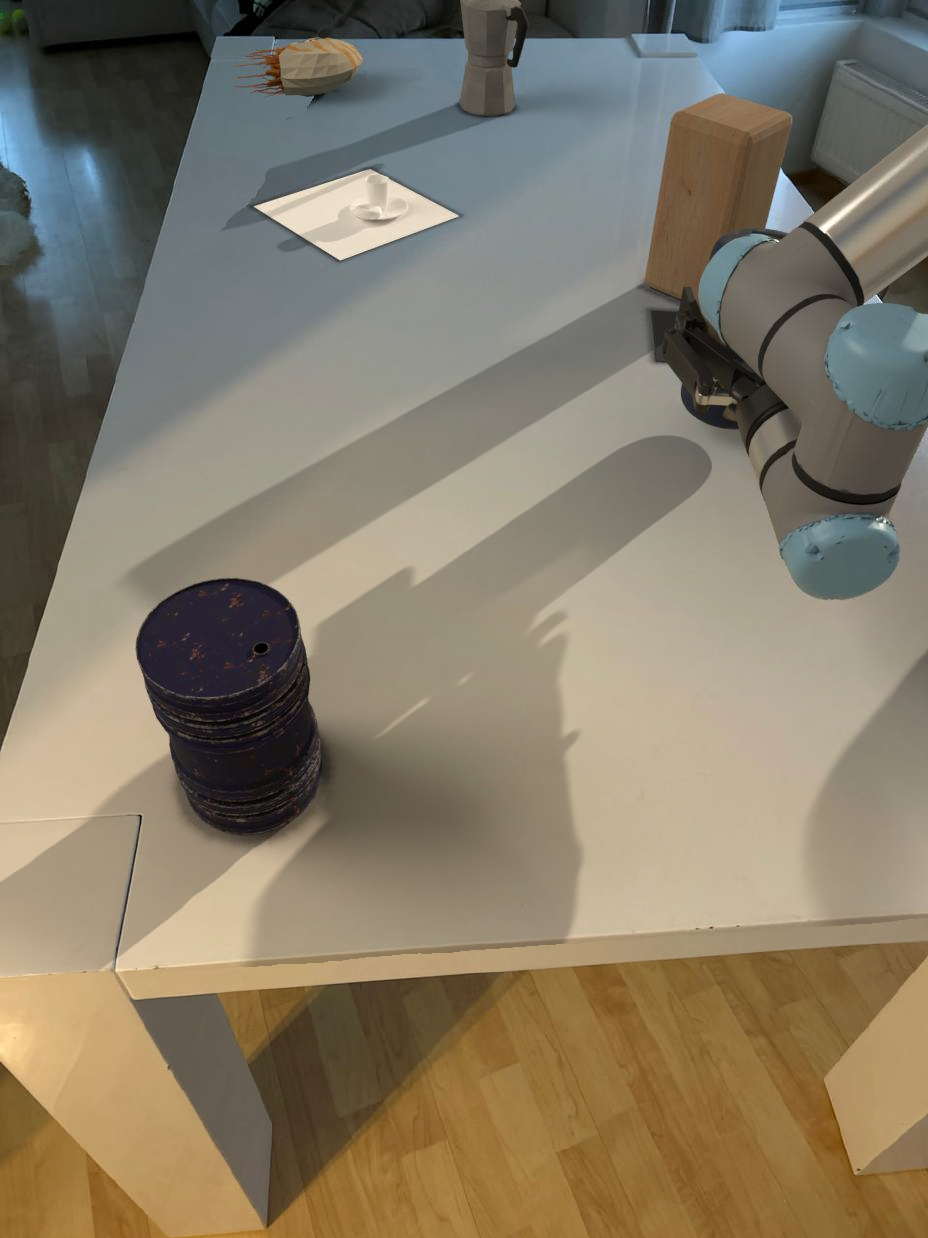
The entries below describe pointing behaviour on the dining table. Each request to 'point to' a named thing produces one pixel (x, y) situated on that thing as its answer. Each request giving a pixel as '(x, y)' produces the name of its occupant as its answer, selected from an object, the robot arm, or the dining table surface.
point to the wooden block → (713, 184)
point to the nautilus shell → (308, 67)
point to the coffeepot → (491, 54)
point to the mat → (661, 329)
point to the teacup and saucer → (355, 213)
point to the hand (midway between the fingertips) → (737, 299)
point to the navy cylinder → (234, 702)
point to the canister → (720, 413)
